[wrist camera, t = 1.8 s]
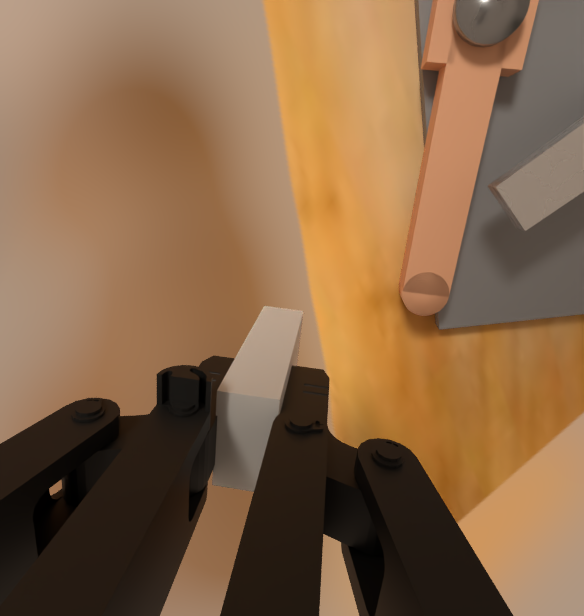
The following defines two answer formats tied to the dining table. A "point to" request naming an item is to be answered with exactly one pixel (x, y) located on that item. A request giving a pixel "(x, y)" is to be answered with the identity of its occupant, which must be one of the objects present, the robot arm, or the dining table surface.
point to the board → (502, 157)
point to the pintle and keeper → (548, 158)
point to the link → (452, 151)
